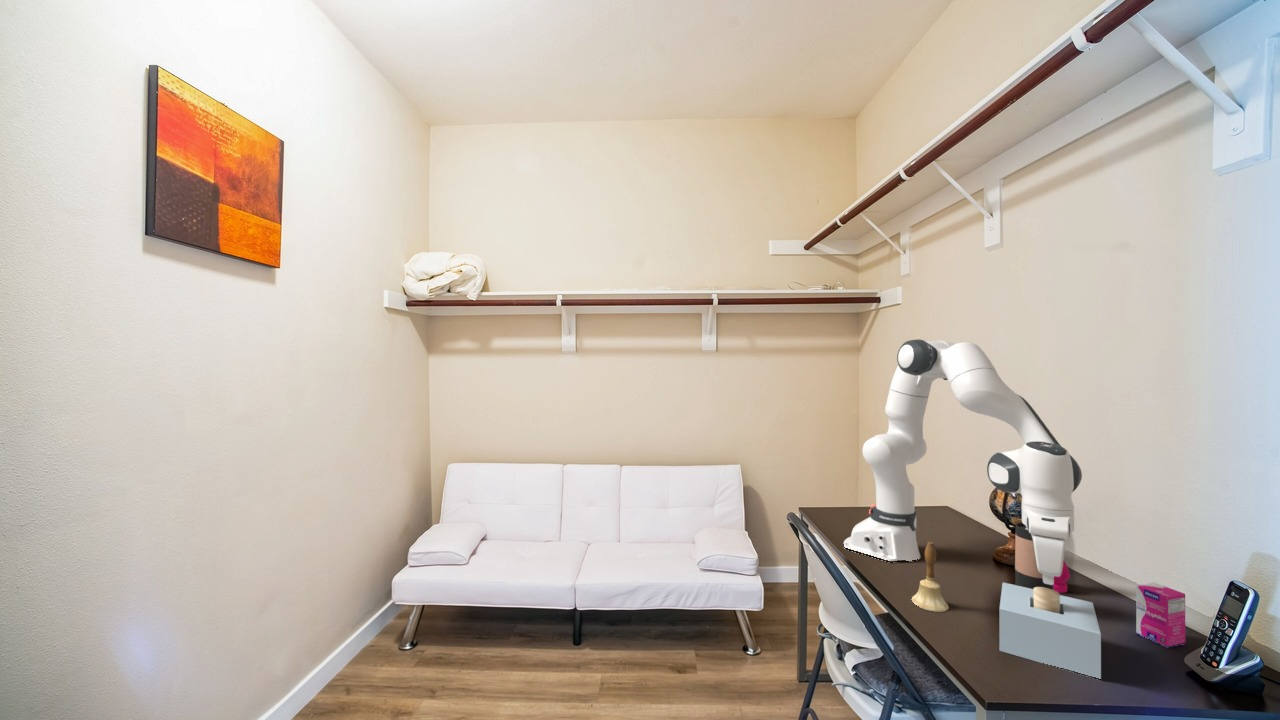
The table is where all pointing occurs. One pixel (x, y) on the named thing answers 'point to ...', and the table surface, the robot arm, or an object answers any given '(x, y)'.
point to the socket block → (1050, 631)
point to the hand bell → (930, 586)
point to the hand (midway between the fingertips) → (1048, 582)
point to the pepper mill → (1061, 580)
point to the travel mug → (1026, 560)
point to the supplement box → (1160, 614)
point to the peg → (1047, 599)
